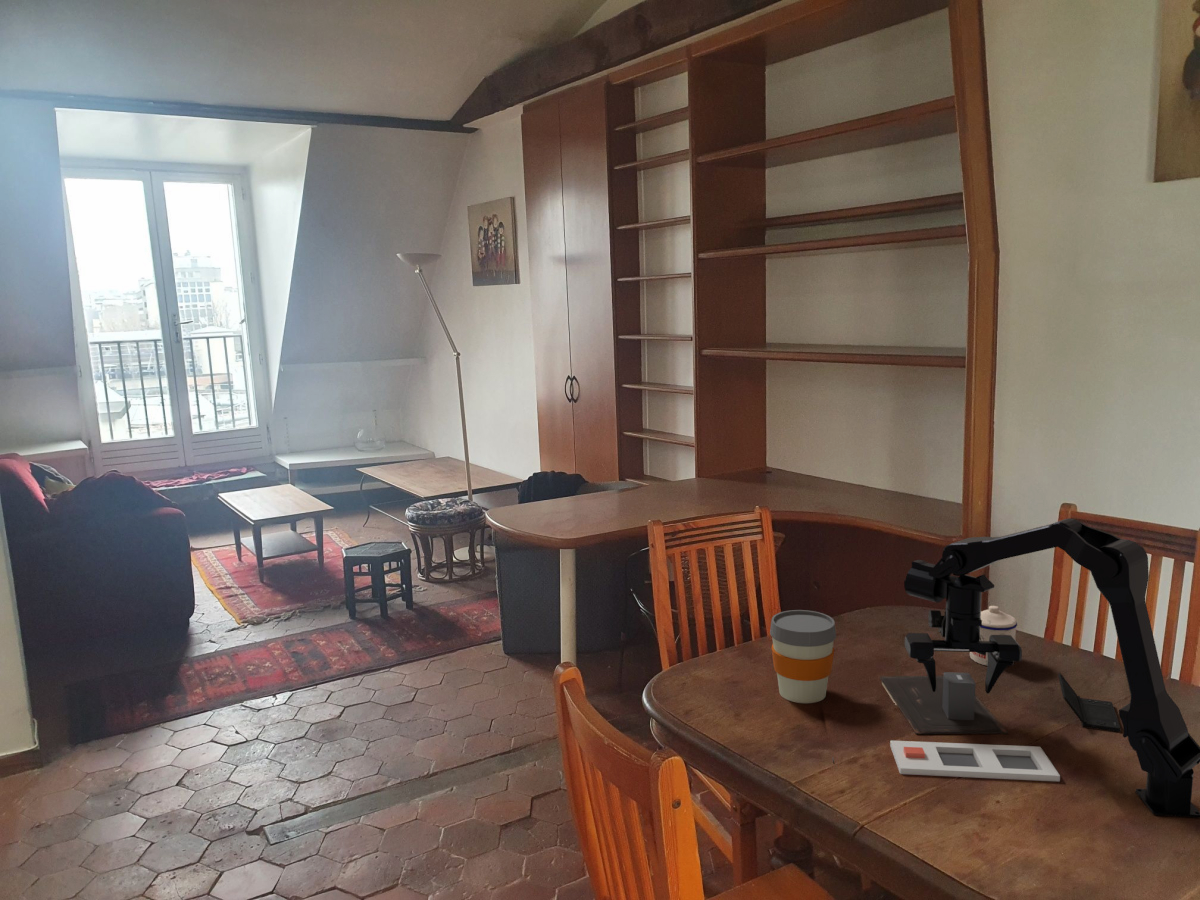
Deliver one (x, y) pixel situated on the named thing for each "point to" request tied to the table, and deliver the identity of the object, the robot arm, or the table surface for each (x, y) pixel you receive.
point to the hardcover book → (935, 708)
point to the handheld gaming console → (1090, 709)
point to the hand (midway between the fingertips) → (960, 691)
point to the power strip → (973, 760)
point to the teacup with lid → (993, 629)
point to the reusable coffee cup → (802, 654)
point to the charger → (958, 696)
